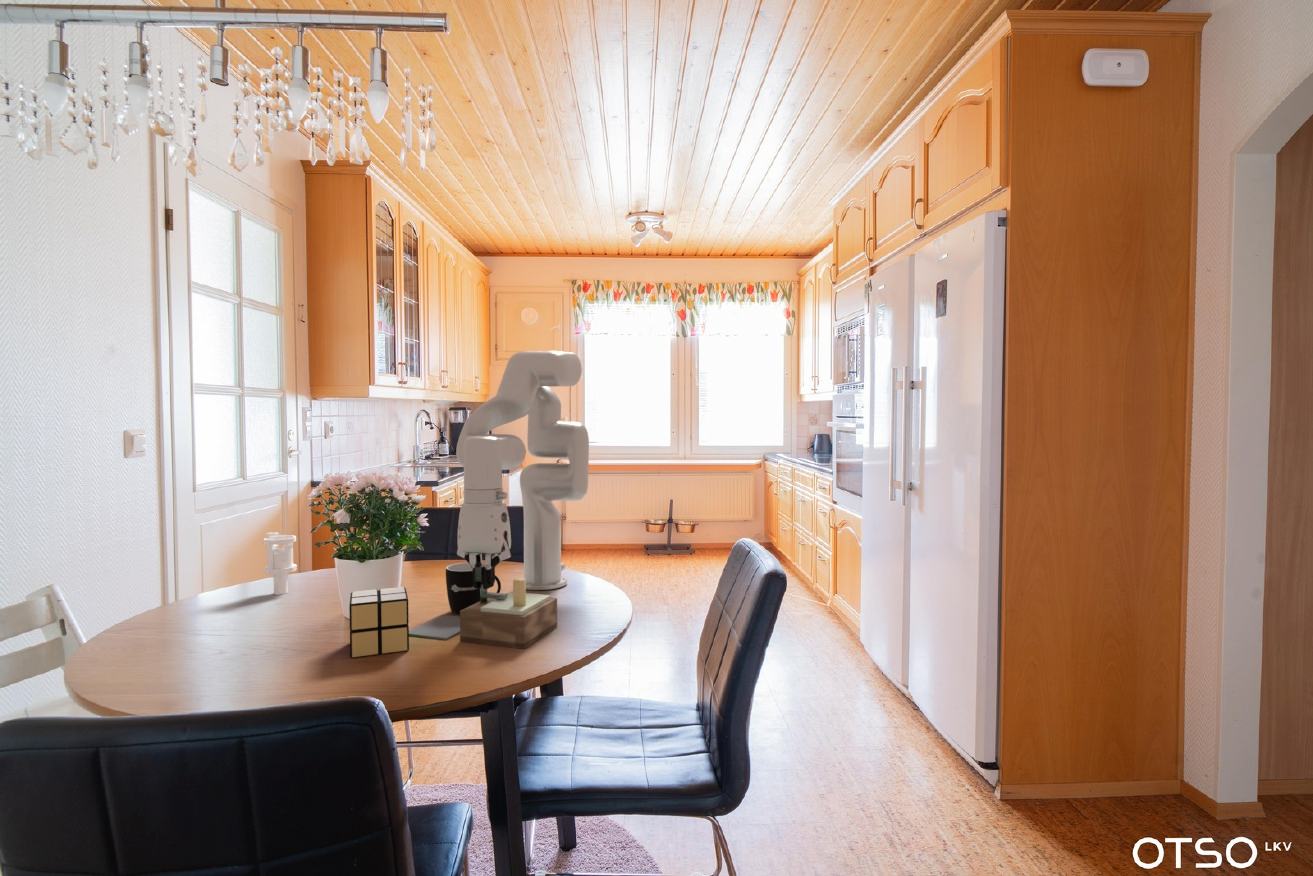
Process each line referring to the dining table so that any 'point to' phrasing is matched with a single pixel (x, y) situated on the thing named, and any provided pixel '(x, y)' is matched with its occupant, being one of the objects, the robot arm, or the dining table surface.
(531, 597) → the cover
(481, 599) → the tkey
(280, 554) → the white cylindrical part
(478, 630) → the case
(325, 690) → the dining table surface
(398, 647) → the puzzle cube
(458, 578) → the mug
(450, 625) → the mat
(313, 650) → the dining table surface
